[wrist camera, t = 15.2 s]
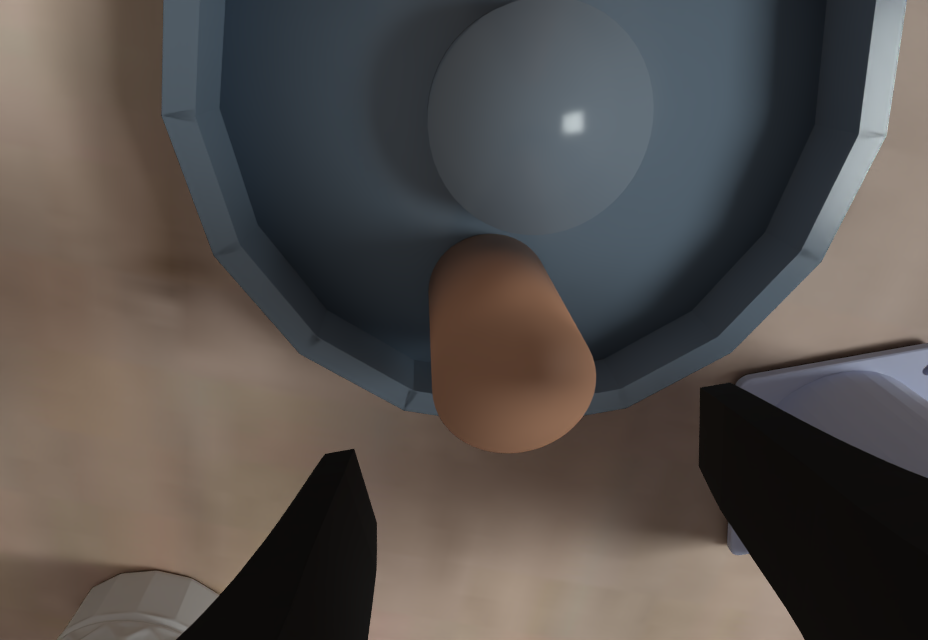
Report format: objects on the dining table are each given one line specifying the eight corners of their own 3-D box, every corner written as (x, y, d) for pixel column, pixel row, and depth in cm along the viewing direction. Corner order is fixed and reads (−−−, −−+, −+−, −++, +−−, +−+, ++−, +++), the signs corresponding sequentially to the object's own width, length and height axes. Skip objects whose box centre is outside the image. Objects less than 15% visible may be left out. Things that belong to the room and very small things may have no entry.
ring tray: (798, 328, 22) (851, 368, 20) (307, 415, 22) (292, 466, 20) (870, -373, 14) (978, -472, 11) (88, -228, 14) (9, -291, 11)
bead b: (550, 335, 20) (598, 441, 15) (437, 351, 20) (444, 463, 15) (543, 225, 19) (593, 300, 13) (419, 243, 19) (419, 325, 13)
